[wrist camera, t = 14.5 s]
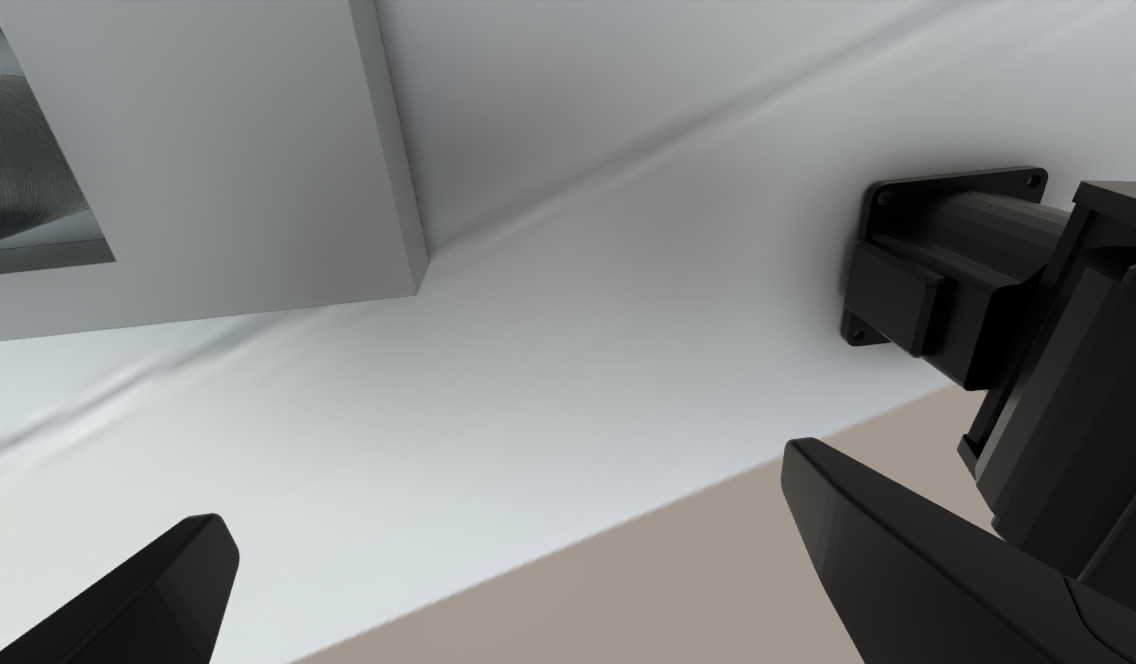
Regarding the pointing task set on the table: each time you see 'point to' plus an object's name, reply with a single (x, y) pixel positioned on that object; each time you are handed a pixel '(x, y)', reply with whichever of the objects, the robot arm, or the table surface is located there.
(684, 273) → the table surface
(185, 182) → the board
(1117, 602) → the robot arm
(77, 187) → the gold capped metal post
